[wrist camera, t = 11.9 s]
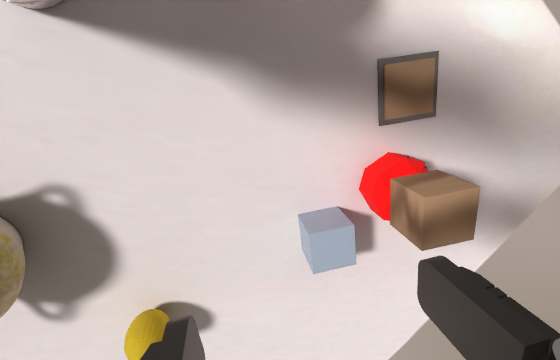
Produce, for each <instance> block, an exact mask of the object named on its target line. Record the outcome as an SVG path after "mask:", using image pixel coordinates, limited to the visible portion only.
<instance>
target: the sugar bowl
mask: <svg viewBox="0 0 560 360" xmlns="http://www.w3.org/2000/svg"><path fill="white" fill-rule="evenodd" d="M24 276H25V256H24V251H23V242H22V239H21V237H20V235H19V233H18V232H17V230H16V229H15V228H14V227H13V226H12V225H11V224H10V223H8V222H7V221H6V220H4V219H3V218H1V217H0V318H1V317H2V316H3V315H4V314H5V313H6V312H7V311H8V310H9V309H10V307H11V306H12V305H13V303H14V302H15V301H16V299H17V297H18V295H19V293H20V291H21V288H22V285H23V281H24Z"/></svg>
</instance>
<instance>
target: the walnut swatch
mask: <svg viewBox="0 0 560 360" xmlns="http://www.w3.org/2000/svg"><path fill="white" fill-rule="evenodd" d="M438 55H439V51H435V52H428V53H421V54H414V55H407V56H400V57H394V58H387V59H380V60H378V99H379V126H382V125H388V124H394V123H399V122H405V121H411V120H416V119H422V118H428V117H433V116H436V96H437V76H438Z"/></svg>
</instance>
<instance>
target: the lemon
mask: <svg viewBox="0 0 560 360" xmlns="http://www.w3.org/2000/svg"><path fill="white" fill-rule="evenodd" d="M168 321H170V319H169V317H168V316H167V314H166V313H164V312H163V311H161V310H157V309H151V310H147V311H144V312H142V313H141V314H139V315H138V316H137V317H136V318H135V319H134V320H133V322H132V323H131V325H130V326H129V329H128V331H127V333H126V337H125V345H124V350H125V354H126V356H127V358H128V359H129V360H140V359H141V357H142V356H143V354H144V353H145V352H146V350H147V349H148V347H149V346H150V344H151V343H155V342H159V341H162V337H163V334H164V330H165V326H166V323H167V322H168Z"/></svg>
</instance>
